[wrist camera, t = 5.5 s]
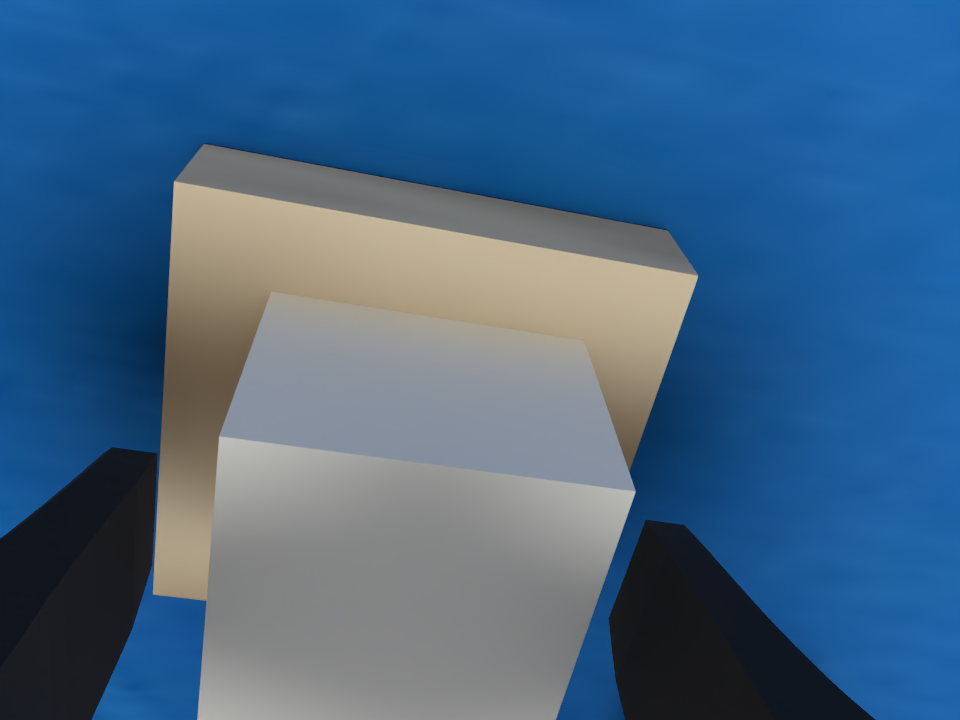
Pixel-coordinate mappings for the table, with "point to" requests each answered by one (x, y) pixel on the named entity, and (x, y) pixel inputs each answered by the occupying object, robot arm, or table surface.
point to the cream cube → (406, 519)
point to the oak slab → (384, 298)
